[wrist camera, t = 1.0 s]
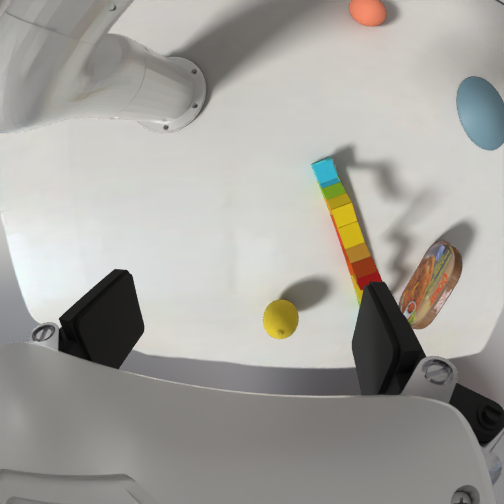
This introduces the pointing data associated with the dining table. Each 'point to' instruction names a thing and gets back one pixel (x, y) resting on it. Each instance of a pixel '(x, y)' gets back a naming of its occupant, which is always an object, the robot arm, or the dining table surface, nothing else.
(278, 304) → the lemon
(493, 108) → the disc
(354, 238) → the chart
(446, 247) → the tin
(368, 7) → the ball
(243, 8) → the dining table surface
